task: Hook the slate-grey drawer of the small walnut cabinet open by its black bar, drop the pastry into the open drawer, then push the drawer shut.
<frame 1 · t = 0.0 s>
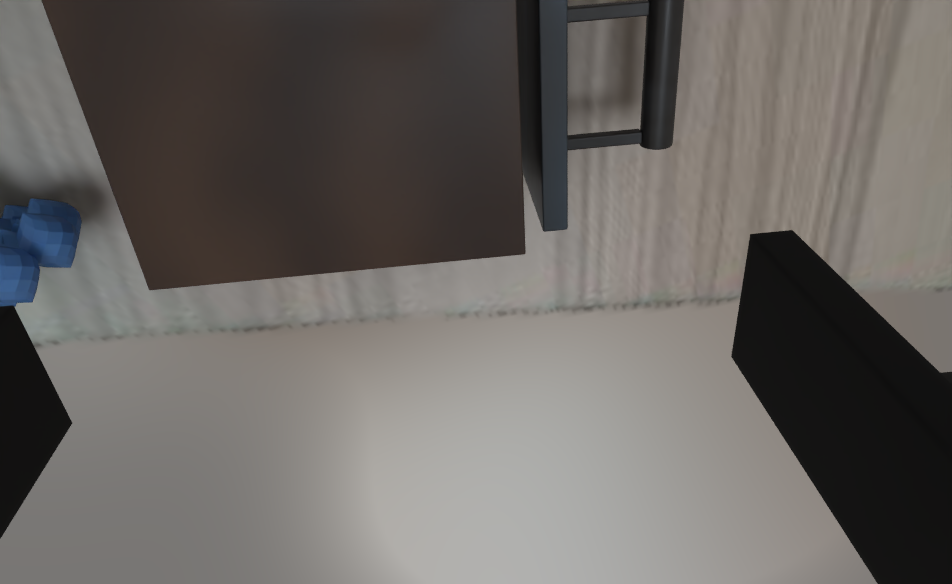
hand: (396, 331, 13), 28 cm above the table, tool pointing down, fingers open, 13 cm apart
cabinet: (334, 72, 37), on the table
grapes: (25, 205, 40), on the table
drawer: (441, 87, 33), point 5 cm above the table, slide at 1.0 cm
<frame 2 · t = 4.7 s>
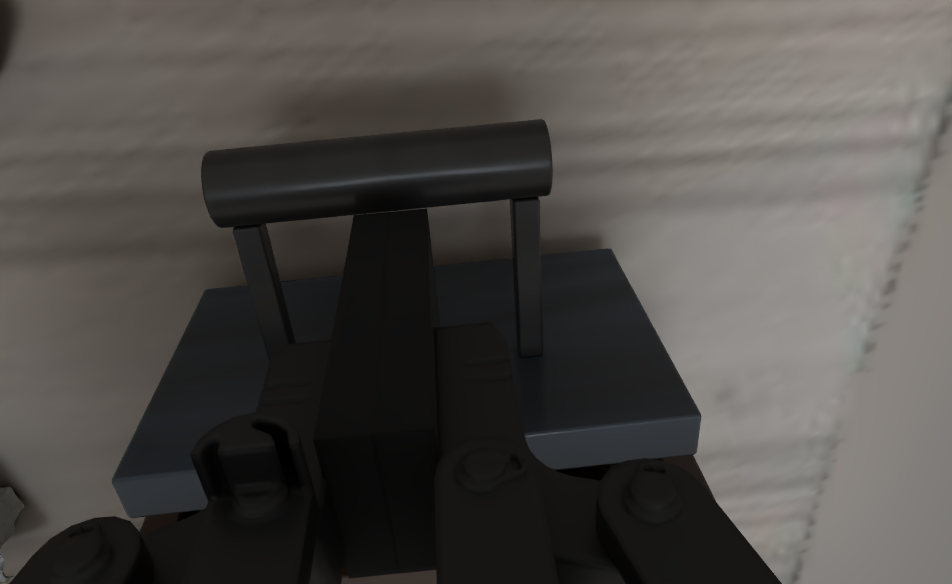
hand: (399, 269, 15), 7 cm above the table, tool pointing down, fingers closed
cabinet: (444, 504, 28), on the table
drawer: (431, 487, 21), point 5 cm above the table, slide at 1.5 cm, touching gripper
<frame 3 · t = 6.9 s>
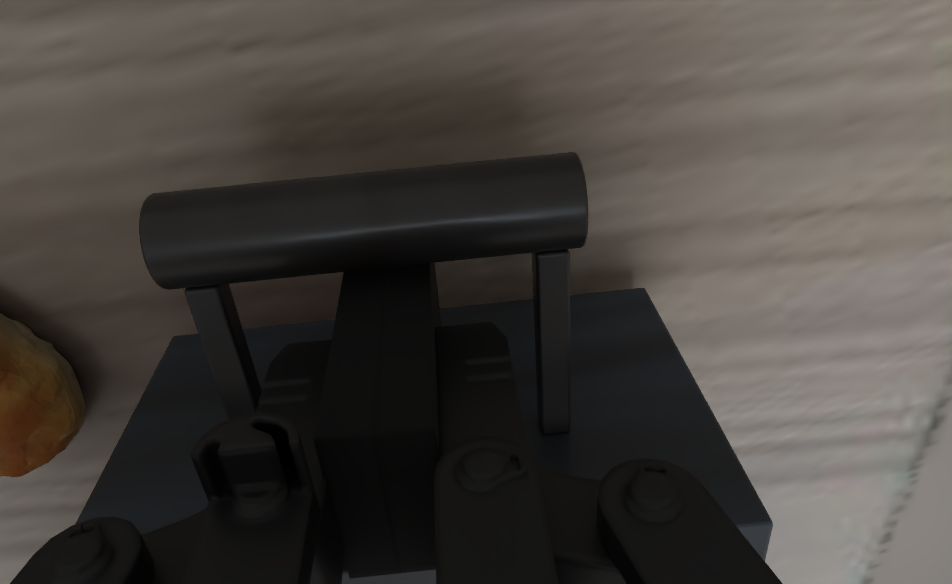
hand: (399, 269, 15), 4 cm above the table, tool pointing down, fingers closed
drawer: (435, 568, 18), point 5 cm above the table, slide at 11.4 cm, touching gripper
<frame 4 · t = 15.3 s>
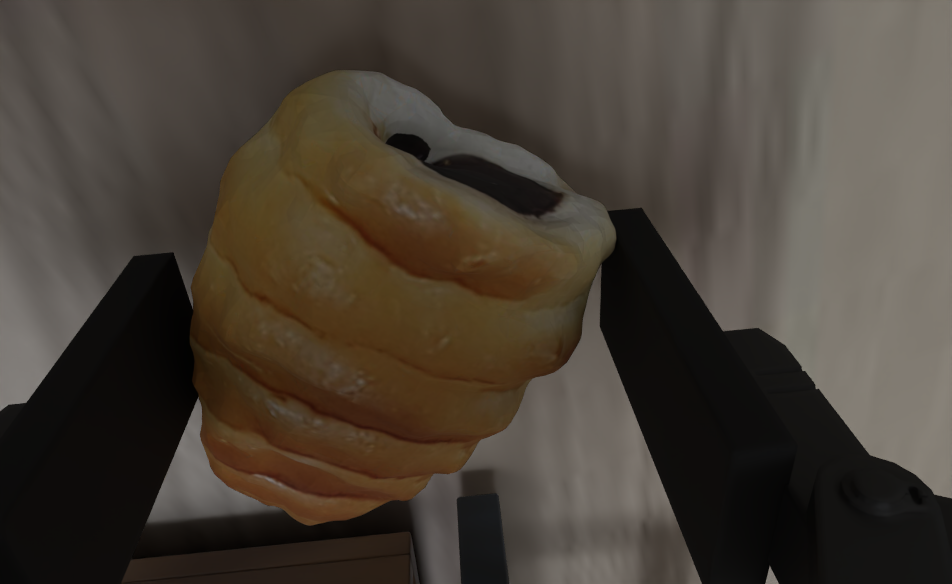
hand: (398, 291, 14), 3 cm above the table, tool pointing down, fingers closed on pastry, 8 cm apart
pastry: (391, 277, 14), point 2 cm above the table, touching gripper
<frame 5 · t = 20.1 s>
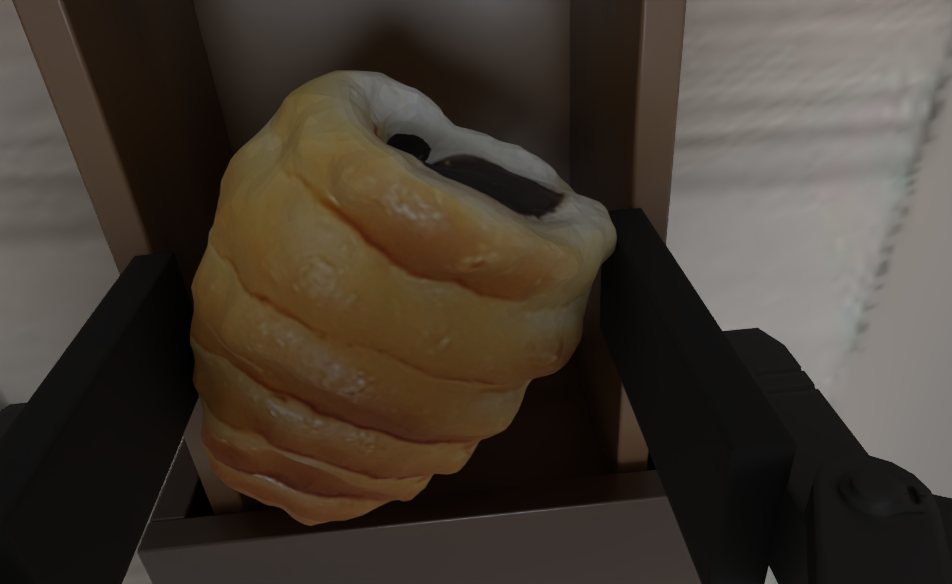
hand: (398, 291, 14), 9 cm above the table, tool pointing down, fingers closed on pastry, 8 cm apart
pastry: (392, 277, 14), point 8 cm above the table, touching gripper
cabinet: (449, 477, 29), on the table
drawer: (385, 66, 16), point 5 cm above the table, slide at 13.5 cm
when the fingers open (9 cm above the table, at t = 27.0 s): pastry drops 6 cm, resting on drawer.
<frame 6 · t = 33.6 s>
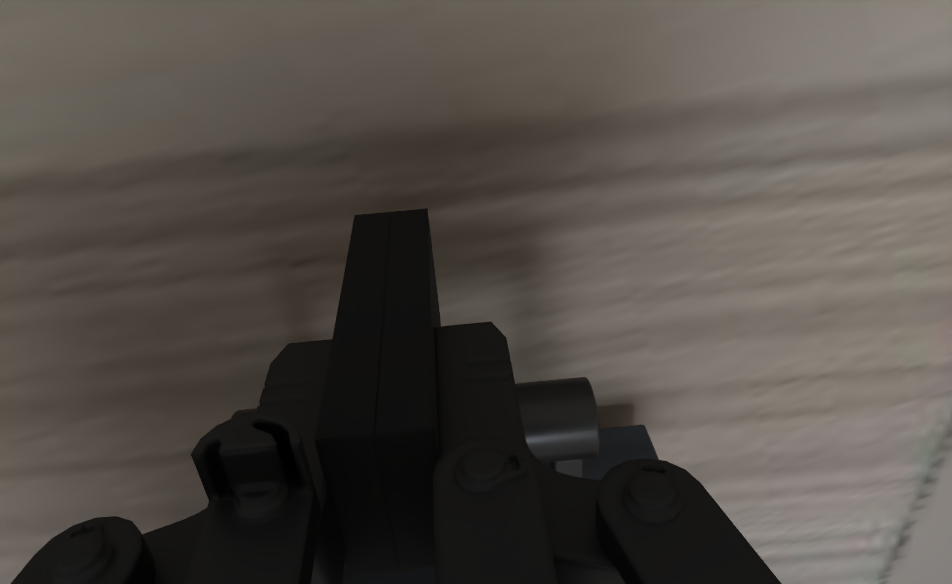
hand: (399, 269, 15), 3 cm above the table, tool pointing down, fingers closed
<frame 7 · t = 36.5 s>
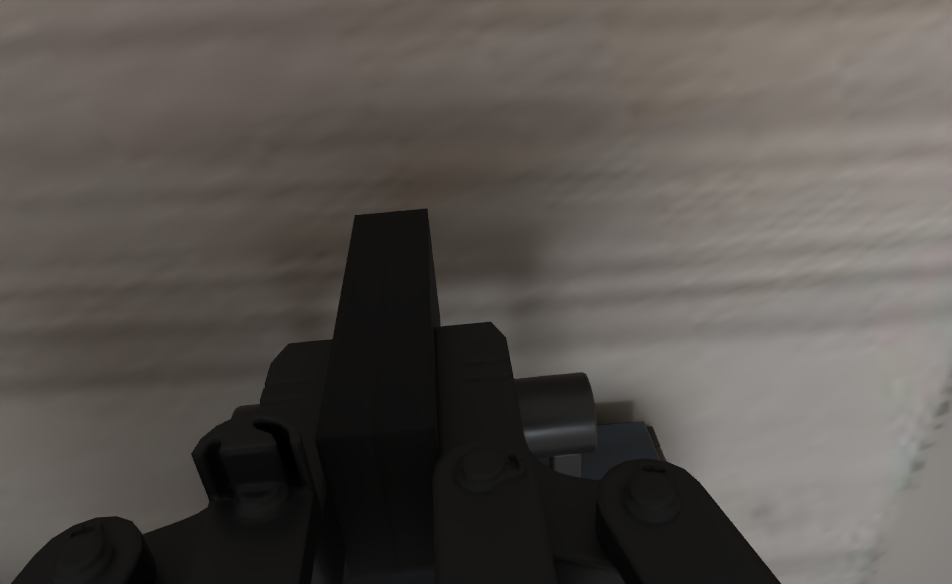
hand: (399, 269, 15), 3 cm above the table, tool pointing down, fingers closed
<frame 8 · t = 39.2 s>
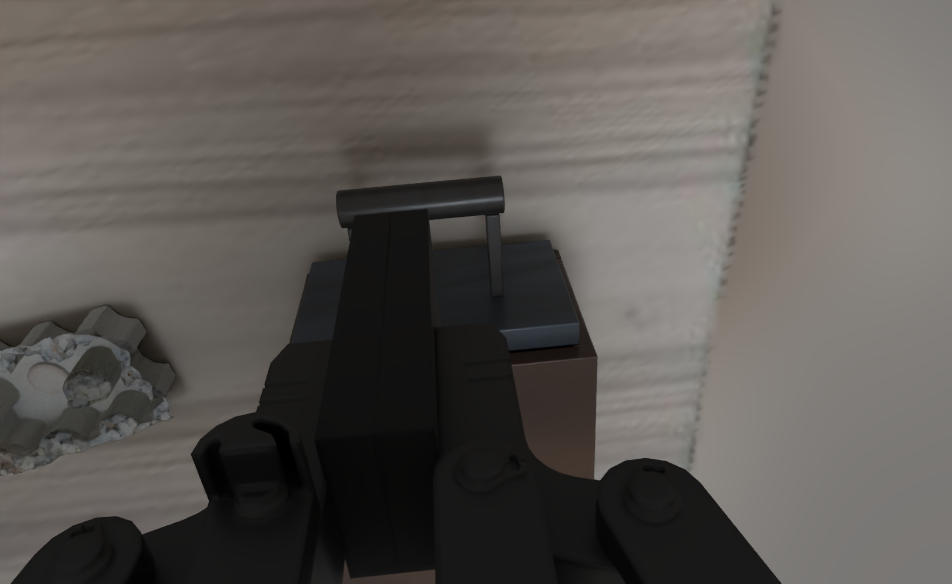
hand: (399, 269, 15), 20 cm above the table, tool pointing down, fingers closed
grey irregular knobbly piece: (77, 364, 40), on the table
cabinet: (448, 387, 43), on the table
drawer: (443, 377, 36), point 5 cm above the table, slide at 0.0 cm, touching pastry
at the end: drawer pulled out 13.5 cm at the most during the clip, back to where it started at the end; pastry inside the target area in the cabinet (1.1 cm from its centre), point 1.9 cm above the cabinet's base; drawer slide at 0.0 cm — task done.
